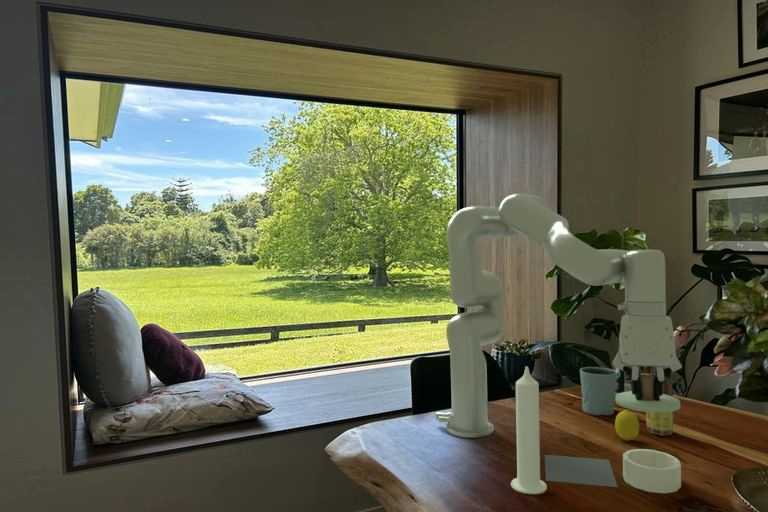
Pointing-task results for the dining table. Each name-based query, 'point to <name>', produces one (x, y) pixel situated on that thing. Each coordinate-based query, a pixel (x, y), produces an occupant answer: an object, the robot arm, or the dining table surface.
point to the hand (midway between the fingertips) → (647, 397)
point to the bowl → (652, 470)
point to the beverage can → (623, 381)
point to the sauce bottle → (661, 421)
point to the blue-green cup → (598, 390)
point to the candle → (528, 437)
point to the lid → (647, 398)
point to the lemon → (627, 425)
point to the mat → (579, 470)
